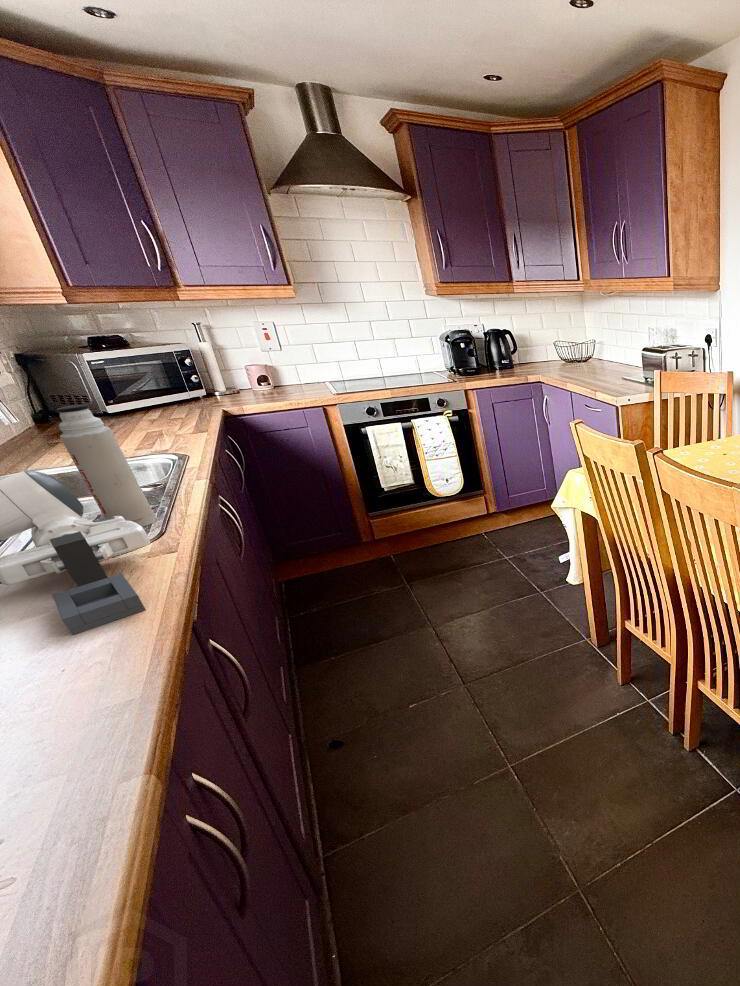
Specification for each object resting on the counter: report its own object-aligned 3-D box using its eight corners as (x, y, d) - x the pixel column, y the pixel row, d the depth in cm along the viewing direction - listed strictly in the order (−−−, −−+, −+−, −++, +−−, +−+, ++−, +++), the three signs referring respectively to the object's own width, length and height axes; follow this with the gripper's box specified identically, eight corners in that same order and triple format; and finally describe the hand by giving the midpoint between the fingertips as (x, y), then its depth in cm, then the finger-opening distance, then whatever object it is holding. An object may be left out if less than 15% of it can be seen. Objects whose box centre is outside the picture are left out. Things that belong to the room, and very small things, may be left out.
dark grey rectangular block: (79, 587, 108) (49, 539, 104) (108, 578, 111) (80, 531, 107) (84, 596, 105) (53, 547, 100) (113, 587, 108) (85, 538, 103)
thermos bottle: (110, 534, 132) (41, 412, 120) (113, 525, 137) (48, 406, 125) (156, 524, 136) (94, 405, 124) (157, 515, 142) (98, 400, 130)
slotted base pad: (61, 609, 101) (51, 594, 100) (129, 587, 107) (121, 573, 106) (72, 635, 93) (62, 619, 92) (146, 609, 99) (137, 594, 98)
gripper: (-19, 550, 104) (-15, 570, 96) (131, 512, 119) (145, 526, 111) (1, 581, 107) (7, 602, 99) (146, 540, 121) (161, 556, 113)
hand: (81, 562), depth 105 cm, fingers closed on dark grey rectangular block, 4 cm apart
